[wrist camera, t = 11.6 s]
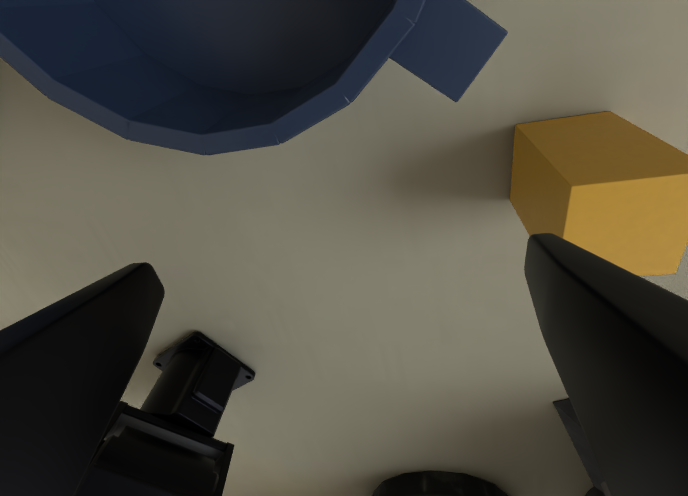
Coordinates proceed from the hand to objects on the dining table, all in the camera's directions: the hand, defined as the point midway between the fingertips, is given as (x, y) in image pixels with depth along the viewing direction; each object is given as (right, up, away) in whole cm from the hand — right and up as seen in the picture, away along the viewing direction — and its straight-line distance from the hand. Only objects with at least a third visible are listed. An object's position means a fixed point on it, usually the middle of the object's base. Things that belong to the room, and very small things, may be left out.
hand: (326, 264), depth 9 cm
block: (+11, +5, +10) cm, 16 cm away
